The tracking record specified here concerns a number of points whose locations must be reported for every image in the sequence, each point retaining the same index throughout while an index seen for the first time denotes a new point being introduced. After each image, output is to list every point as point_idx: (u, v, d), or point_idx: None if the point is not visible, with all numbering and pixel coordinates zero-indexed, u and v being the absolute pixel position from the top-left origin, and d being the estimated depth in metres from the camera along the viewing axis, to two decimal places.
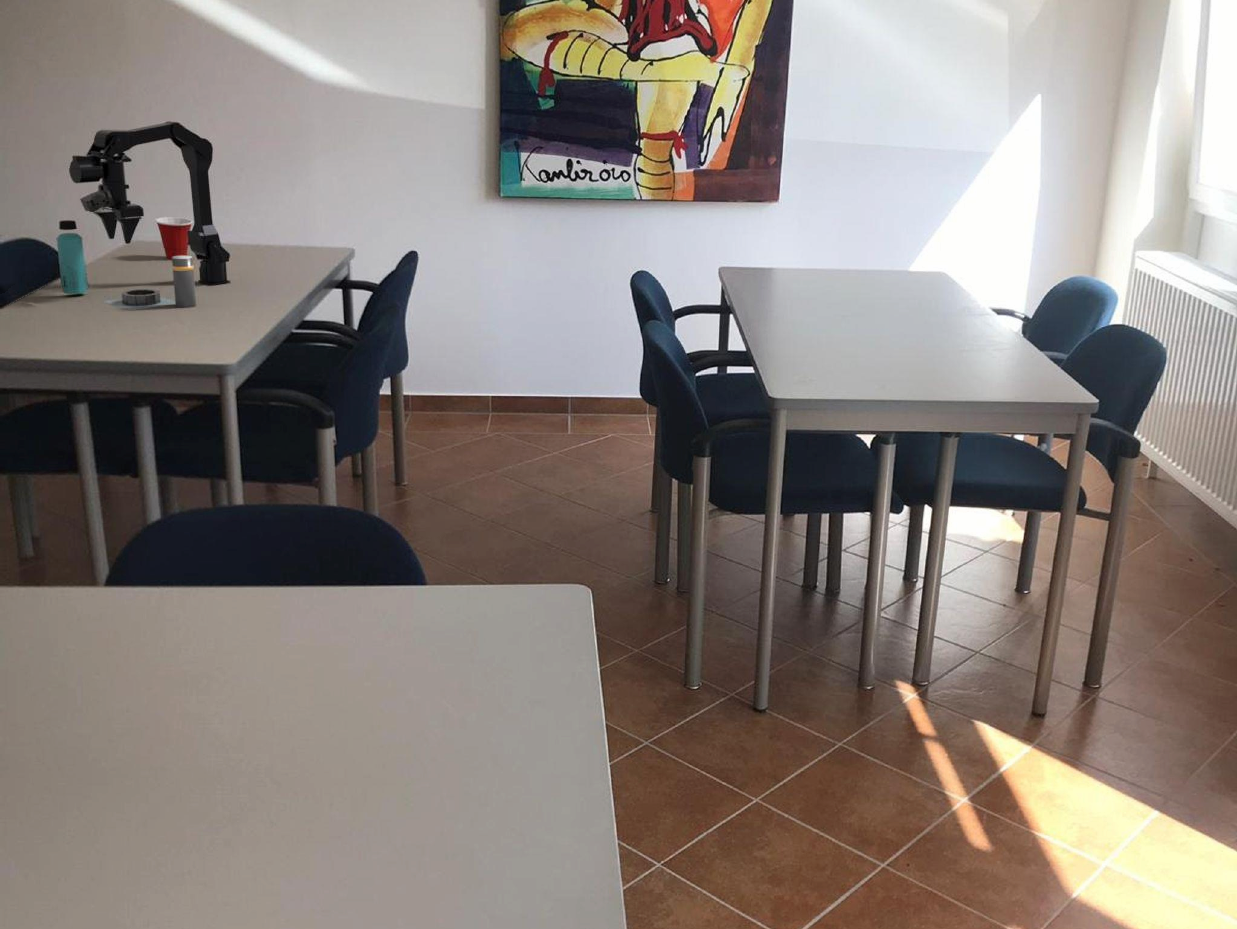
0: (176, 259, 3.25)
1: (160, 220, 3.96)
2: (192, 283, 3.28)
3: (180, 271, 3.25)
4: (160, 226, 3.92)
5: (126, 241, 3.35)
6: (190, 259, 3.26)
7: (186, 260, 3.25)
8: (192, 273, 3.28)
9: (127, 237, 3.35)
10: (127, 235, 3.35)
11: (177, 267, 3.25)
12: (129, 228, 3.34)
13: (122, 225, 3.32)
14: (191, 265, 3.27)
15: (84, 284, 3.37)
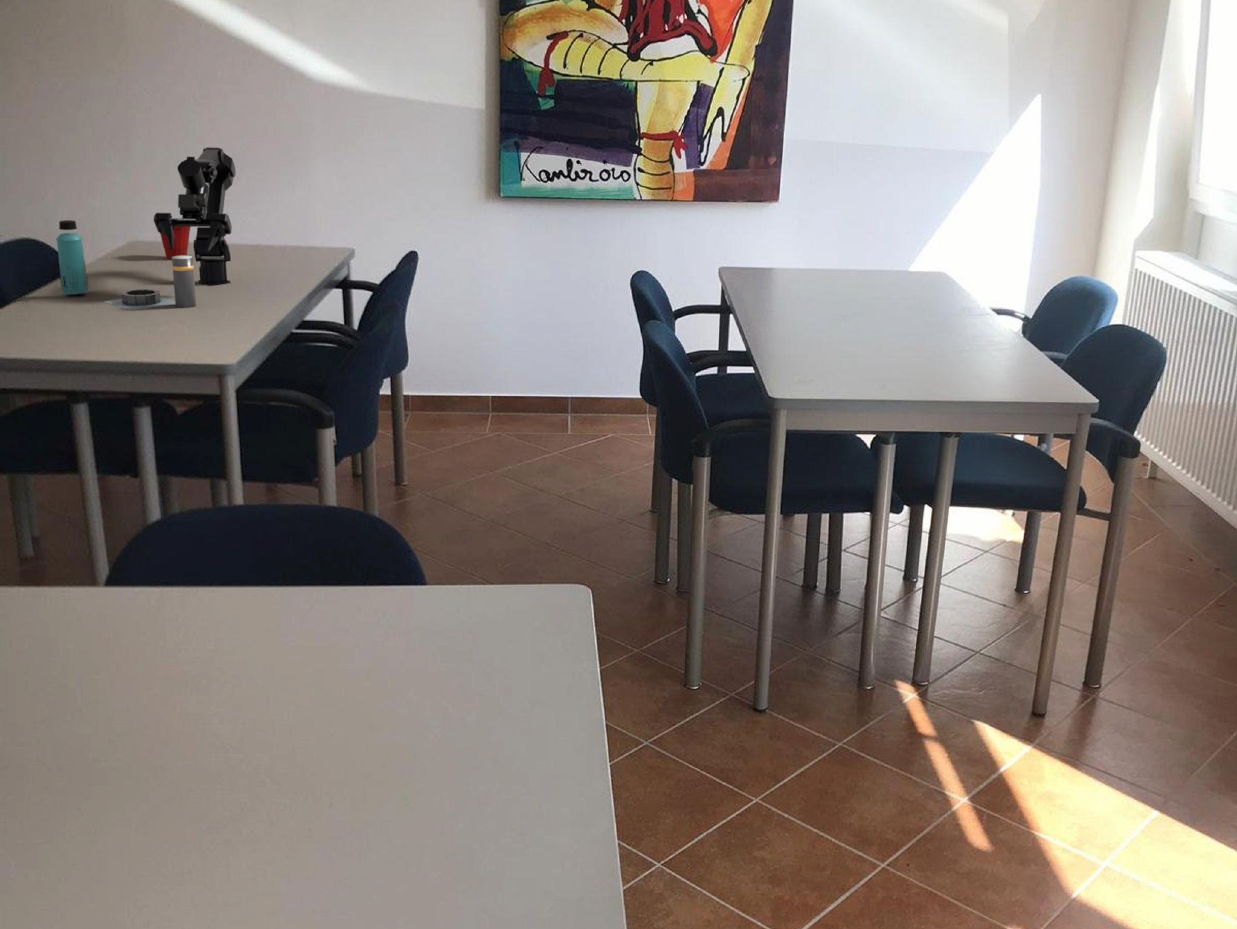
0: (176, 259, 3.25)
1: None
2: (192, 283, 3.28)
3: (180, 271, 3.25)
4: None
5: (208, 247, 3.35)
6: (190, 259, 3.26)
7: (186, 260, 3.25)
8: (192, 273, 3.28)
9: (210, 244, 3.35)
10: (211, 242, 3.36)
11: (177, 267, 3.25)
12: (214, 238, 3.37)
13: (213, 231, 3.36)
14: (191, 265, 3.27)
15: (84, 284, 3.37)
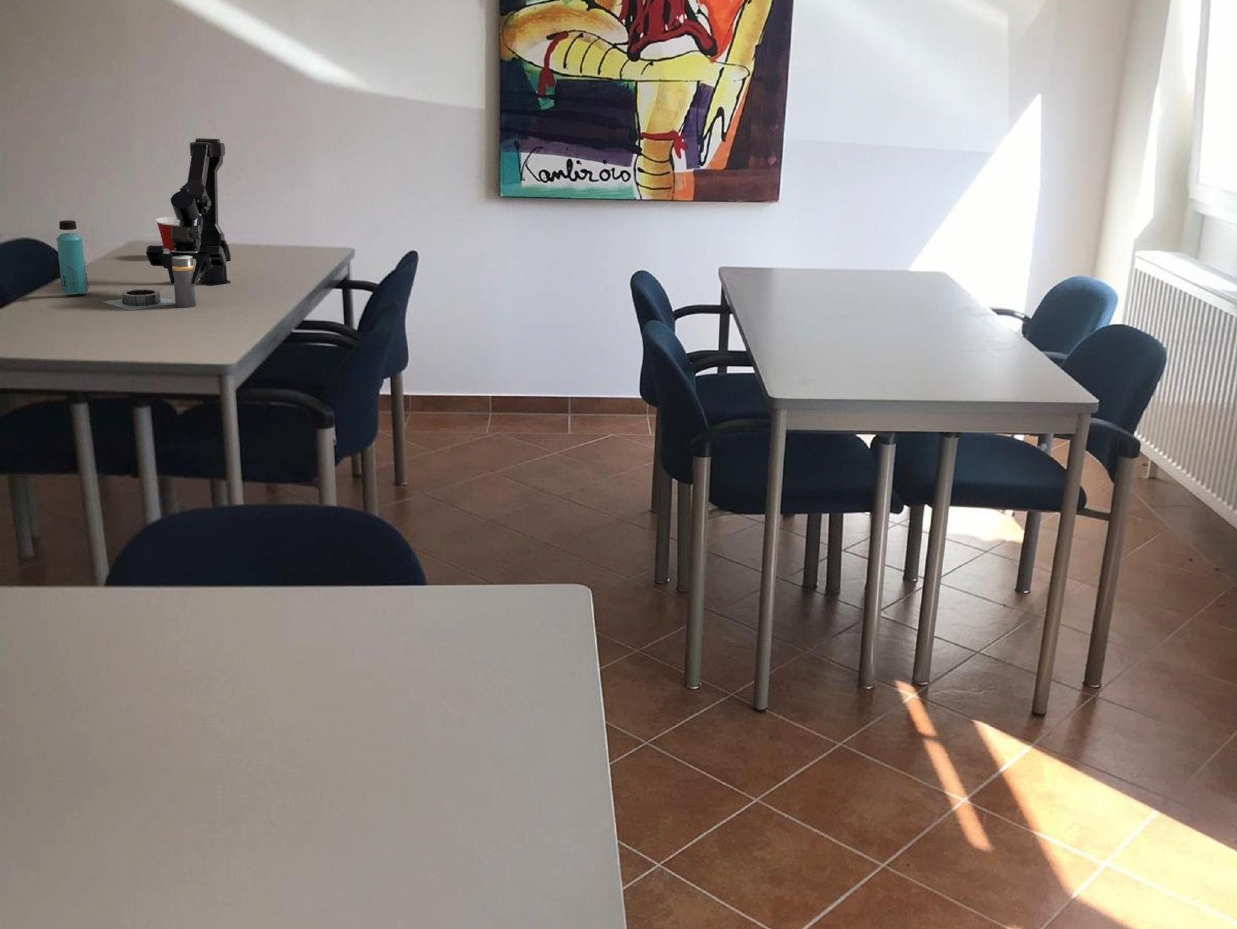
0: (176, 259, 3.25)
1: (160, 220, 3.96)
2: (192, 283, 3.28)
3: (180, 271, 3.25)
4: (160, 226, 3.92)
5: (194, 280, 3.28)
6: (190, 259, 3.26)
7: (186, 260, 3.25)
8: (192, 273, 3.28)
9: (197, 277, 3.28)
10: (197, 276, 3.29)
11: (177, 267, 3.25)
12: (200, 271, 3.30)
13: (199, 264, 3.29)
14: (191, 265, 3.27)
15: (84, 284, 3.37)
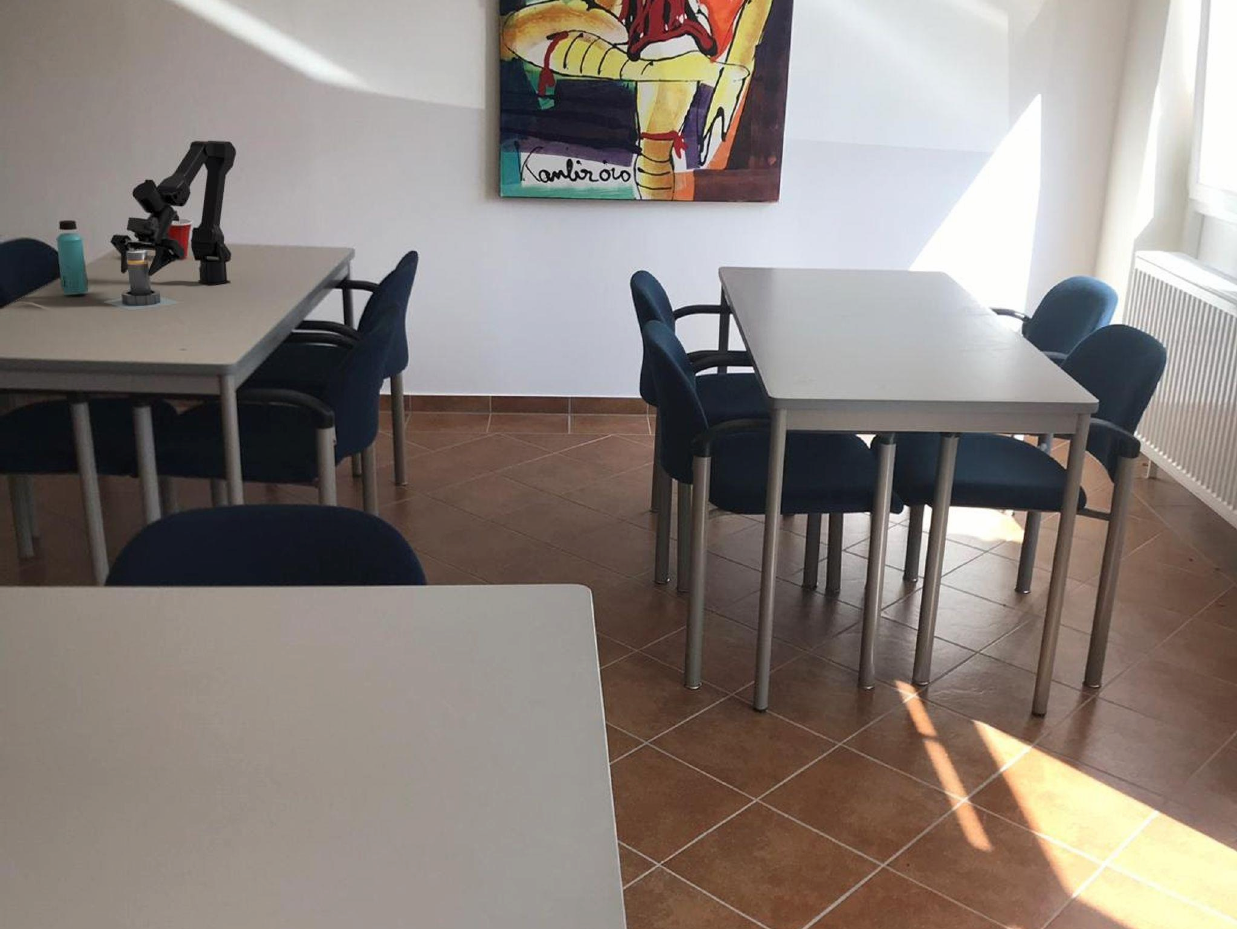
0: (128, 253, 3.27)
1: None
2: (144, 277, 3.30)
3: (131, 264, 3.28)
4: None
5: (150, 272, 3.28)
6: (141, 253, 3.28)
7: (136, 254, 3.27)
8: (144, 267, 3.29)
9: (153, 269, 3.29)
10: (154, 267, 3.29)
11: (128, 261, 3.28)
12: (159, 263, 3.30)
13: (157, 256, 3.29)
14: (143, 259, 3.28)
15: (84, 284, 3.37)
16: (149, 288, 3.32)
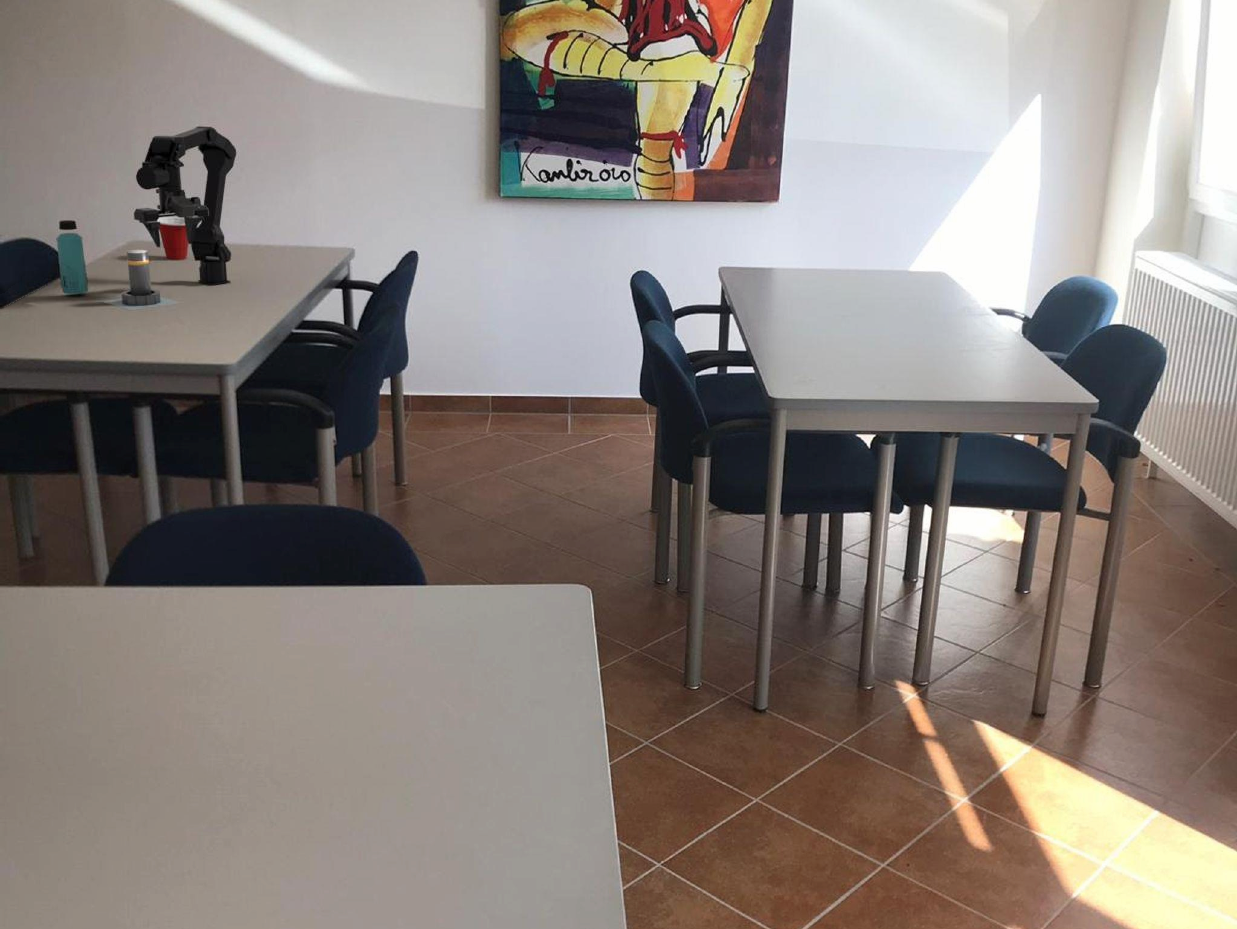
0: (128, 253, 3.27)
1: (160, 220, 3.96)
2: (145, 278, 3.30)
3: (131, 265, 3.28)
4: (160, 226, 3.92)
5: None
6: (142, 254, 3.27)
7: (137, 255, 3.27)
8: (145, 268, 3.29)
9: None
10: None
11: (129, 261, 3.28)
12: None
13: (195, 225, 3.45)
14: (144, 260, 3.28)
15: (84, 284, 3.37)
16: (149, 288, 3.32)
